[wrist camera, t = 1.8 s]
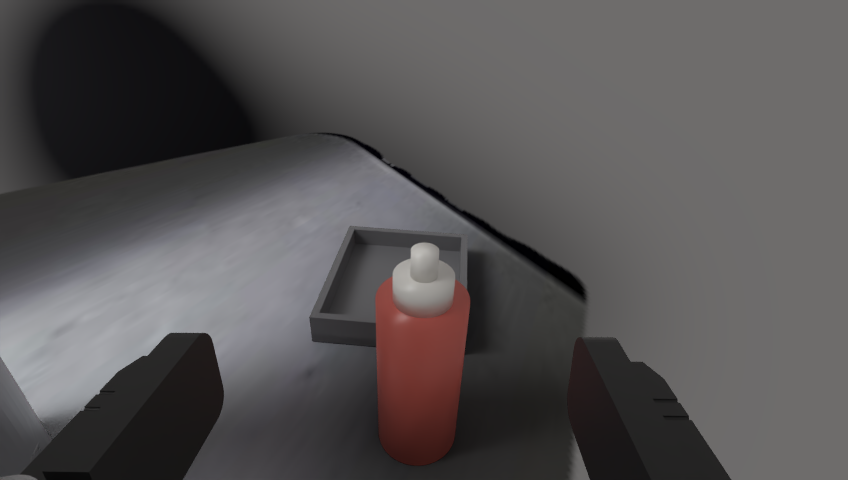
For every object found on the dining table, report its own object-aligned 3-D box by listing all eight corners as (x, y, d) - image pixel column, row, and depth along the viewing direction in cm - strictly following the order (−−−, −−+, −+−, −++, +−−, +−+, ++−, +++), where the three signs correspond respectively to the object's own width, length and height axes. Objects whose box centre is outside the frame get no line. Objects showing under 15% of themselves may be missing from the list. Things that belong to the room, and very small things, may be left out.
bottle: (372, 461, 28) (365, 276, 21) (384, 394, 32) (383, 221, 25) (454, 469, 28) (476, 285, 20) (456, 401, 32) (475, 228, 25)
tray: (312, 341, 36) (309, 317, 35) (351, 246, 48) (349, 226, 47) (464, 354, 36) (466, 330, 34) (465, 255, 48) (467, 234, 46)
